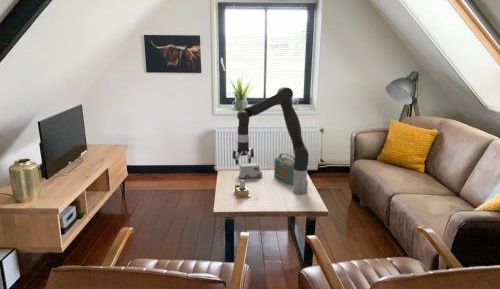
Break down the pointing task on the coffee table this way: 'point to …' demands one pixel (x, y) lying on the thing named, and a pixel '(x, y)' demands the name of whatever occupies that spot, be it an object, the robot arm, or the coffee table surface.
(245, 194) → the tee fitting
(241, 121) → the robot arm
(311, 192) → the coffee table surface
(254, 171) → the toy vehicle
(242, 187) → the silver round-ended rod
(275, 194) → the coffee table surface
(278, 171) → the radio
